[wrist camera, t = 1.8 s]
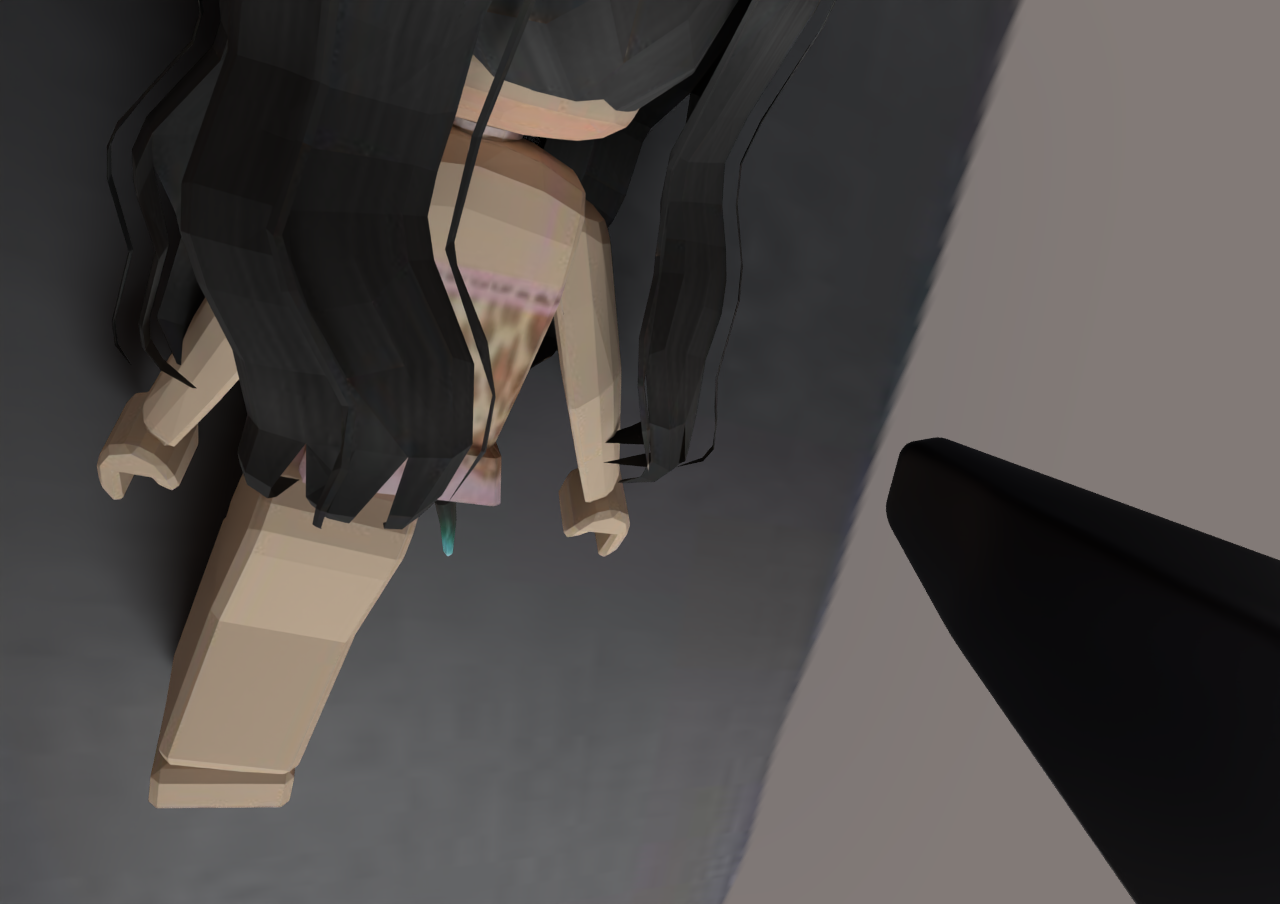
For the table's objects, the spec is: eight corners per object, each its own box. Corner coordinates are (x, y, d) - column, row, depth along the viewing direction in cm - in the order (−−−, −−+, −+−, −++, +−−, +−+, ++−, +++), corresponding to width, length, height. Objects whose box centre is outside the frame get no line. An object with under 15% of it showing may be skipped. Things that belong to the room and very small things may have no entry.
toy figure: (523, 653, 18) (840, -235, 11) (582, 971, 14) (1223, -251, 6) (116, 630, 16) (181, -553, 8) (4, 1016, 11) (-74, -1031, 4)
